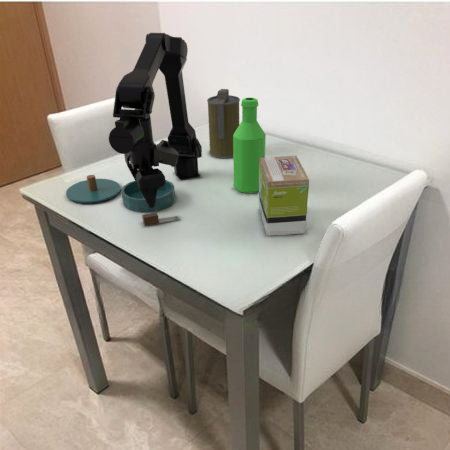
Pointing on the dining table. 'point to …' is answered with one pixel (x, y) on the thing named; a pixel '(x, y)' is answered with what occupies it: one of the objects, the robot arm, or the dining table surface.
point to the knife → (155, 219)
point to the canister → (222, 123)
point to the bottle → (248, 148)
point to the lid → (93, 190)
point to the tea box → (283, 195)
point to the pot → (137, 201)
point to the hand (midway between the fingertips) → (148, 200)
